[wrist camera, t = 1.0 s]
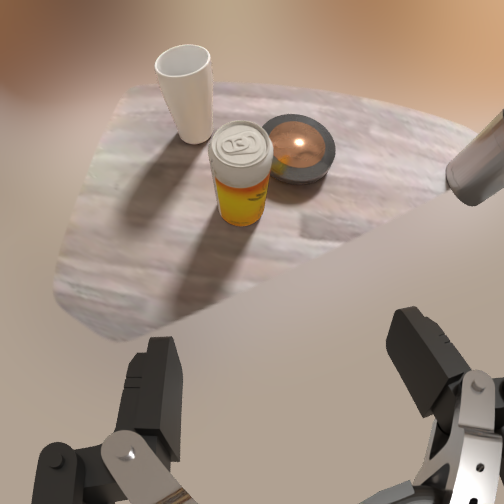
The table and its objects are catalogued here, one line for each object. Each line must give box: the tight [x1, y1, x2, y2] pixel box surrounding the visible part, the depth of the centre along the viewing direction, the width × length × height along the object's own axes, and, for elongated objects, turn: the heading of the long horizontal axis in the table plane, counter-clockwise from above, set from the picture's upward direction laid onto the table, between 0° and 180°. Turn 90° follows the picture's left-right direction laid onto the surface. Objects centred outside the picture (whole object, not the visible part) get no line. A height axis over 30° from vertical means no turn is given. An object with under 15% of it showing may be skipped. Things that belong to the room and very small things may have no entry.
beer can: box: [208, 121, 273, 226], centre depth 34 cm, size 6×6×15 cm
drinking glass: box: [154, 45, 213, 144], centre depth 37 cm, size 7×7×15 cm
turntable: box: [262, 114, 335, 185], centre depth 41 cm, size 11×11×2 cm
